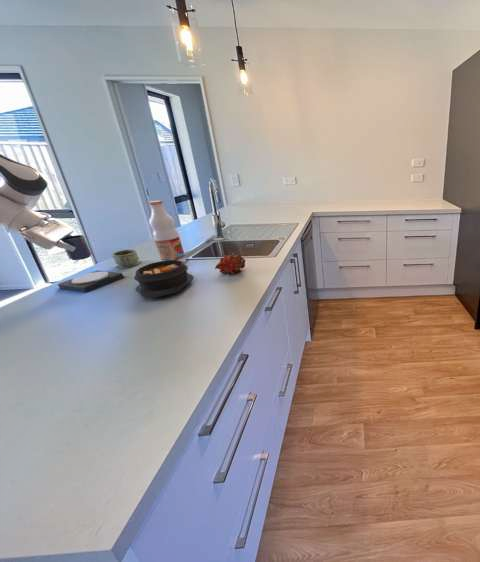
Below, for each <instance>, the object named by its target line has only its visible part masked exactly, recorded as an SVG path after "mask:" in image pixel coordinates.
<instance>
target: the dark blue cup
mask: <svg viewBox="0 0 480 562" xmlns="http://www.w3.org/2000/svg"><path fill="white" fill-rule="evenodd" d="M61 241H63V242H64V243H67V244H70V245H71V244H72V245H74V246H76V249H75V250H74V251H70V250H67V249H64V251H65V253H66V255H67V257H68V259H69V260H72V261H80V260H81V261H82V260H85V259H89V258H90V257H91V256H92V255H93V253H92V251H91V249H90V246H89V244H88V242H87V239H86V238H85V235H83V234H76V235H74V236H68V237H64V238H63V239H61Z"/></svg>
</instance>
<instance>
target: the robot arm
mask: <svg viewBox="0 0 480 562" xmlns="http://www.w3.org/2000/svg"><path fill="white" fill-rule="evenodd" d="M48 185H49V183H48V180H47V178H46V177H45V175H43V173H42V172H40V171H39V170H37V169H36V168H34V167H32V166H29V165H28V164H25V163H22V162H19V161H16V160H13V159H12V158H9V157H7V156H5V155H4V154H1V153H0V226H3V227H4V228H5V229H7V230H9V231H10V232H11V231H12V232H14V233H16V234H18V235H21V236H23V238H24V239H25V240H26V241H28V242H30V243H32V244H34V245H35V246H37V247H41V248H42V249H45V250H52V249H53V248H55V247H57V248H59V249H64V250H65V249H67V250H70V251H74V250H75V249H76V246H74V245H72V244H71V245H70V244H67V243H64V242H63V241H61V239H63V238H64V237H68V236H75V235H74V234H73V233H74V231H75V229H73V227H71V226H70V225H68V224H66V223H64V222H62V221H60V220H58V219H56V218H54V217H52V215H51V214H48V212H39V211H35V210H32V209H33V208H35V207H36V206H37V204H38V202H39V200H40V198H41V196H42V194H43V193H44V191H46V189H47V187H48Z"/></svg>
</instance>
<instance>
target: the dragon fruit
mask: <svg viewBox="0 0 480 562" xmlns="http://www.w3.org/2000/svg"><path fill="white" fill-rule="evenodd" d="M245 267H246V259H245V258H244V257H243V256H241V255H238V254H235V253H231V254H230V255H227V254H226V255H224V256H223V257H221V258H220V260H219V262H218V263H217V264H216V265H215V267H214V270H219V273H220V274H221V273H222V274H230V273H231V275H234V274H235V273H239V272H241V269H244V268H245Z"/></svg>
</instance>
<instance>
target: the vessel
mask: <svg viewBox="0 0 480 562" xmlns="http://www.w3.org/2000/svg"><path fill="white" fill-rule="evenodd" d="M111 256H112V258H113V261H114V263H115V264H116V265H118V267H117V268H121V269H122V268H123V269H125V268H131V267H134V266H137V265H138V264H140V262H139V260H140V257H139V256H138V253H137V250H136V249H133V248H132V249H131V248H128V249H121V250H118V251H117V250H116V251H114V252H113V253H112V254H111Z"/></svg>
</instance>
